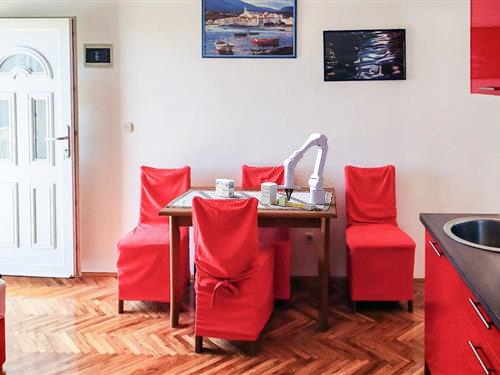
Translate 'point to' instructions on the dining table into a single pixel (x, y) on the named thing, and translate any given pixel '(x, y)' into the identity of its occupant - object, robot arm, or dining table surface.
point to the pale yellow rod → (291, 204)
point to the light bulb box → (225, 188)
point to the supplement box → (268, 193)
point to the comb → (310, 206)
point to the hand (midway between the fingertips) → (288, 200)
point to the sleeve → (282, 200)
